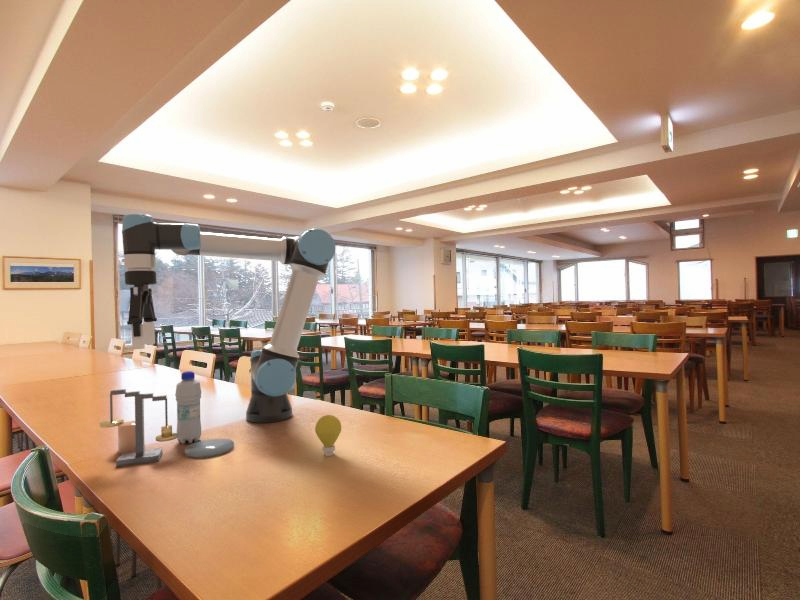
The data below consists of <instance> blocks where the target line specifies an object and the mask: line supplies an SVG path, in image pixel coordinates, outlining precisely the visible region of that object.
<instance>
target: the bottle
mask: <svg viewBox="0 0 800 600" xmlns="http://www.w3.org/2000/svg"><path fill="white" fill-rule="evenodd" d="M195 376H196V375H195V372H194V371H189V370H188V371H184V372H182V373H181V381H179V382H178V383H177V384H176V387H175V394H174V395H175V401H176V414H177V415H176V416H177V420H176V422H177V423H176V433H177V434H178V437H177V438H176V439H177V441H178V443H179V444H181V443H182V445H184V444H186V442H188V444H193V441H194V443H196V442H199V441H200V438H201V436H202V423H201V398H202V386H201V382H200V381H198V380H196V379H195Z"/></svg>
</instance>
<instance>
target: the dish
mask: <svg viewBox="0 0 800 600" xmlns="http://www.w3.org/2000/svg"><path fill="white" fill-rule="evenodd" d="M234 447H235V441H234V440H232V439H229V438H209V439H204V440H198V441H196V442H194V443H193V442H192V443H190V444H189V445H188V446H186V447H185V448H184V455H185V456H186V457H188V458H192V459H206V458H207V459H208V458H213V457H218V456H221V455H224V454H227V453H229V452H230V451H232V450H233V449H234Z"/></svg>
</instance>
